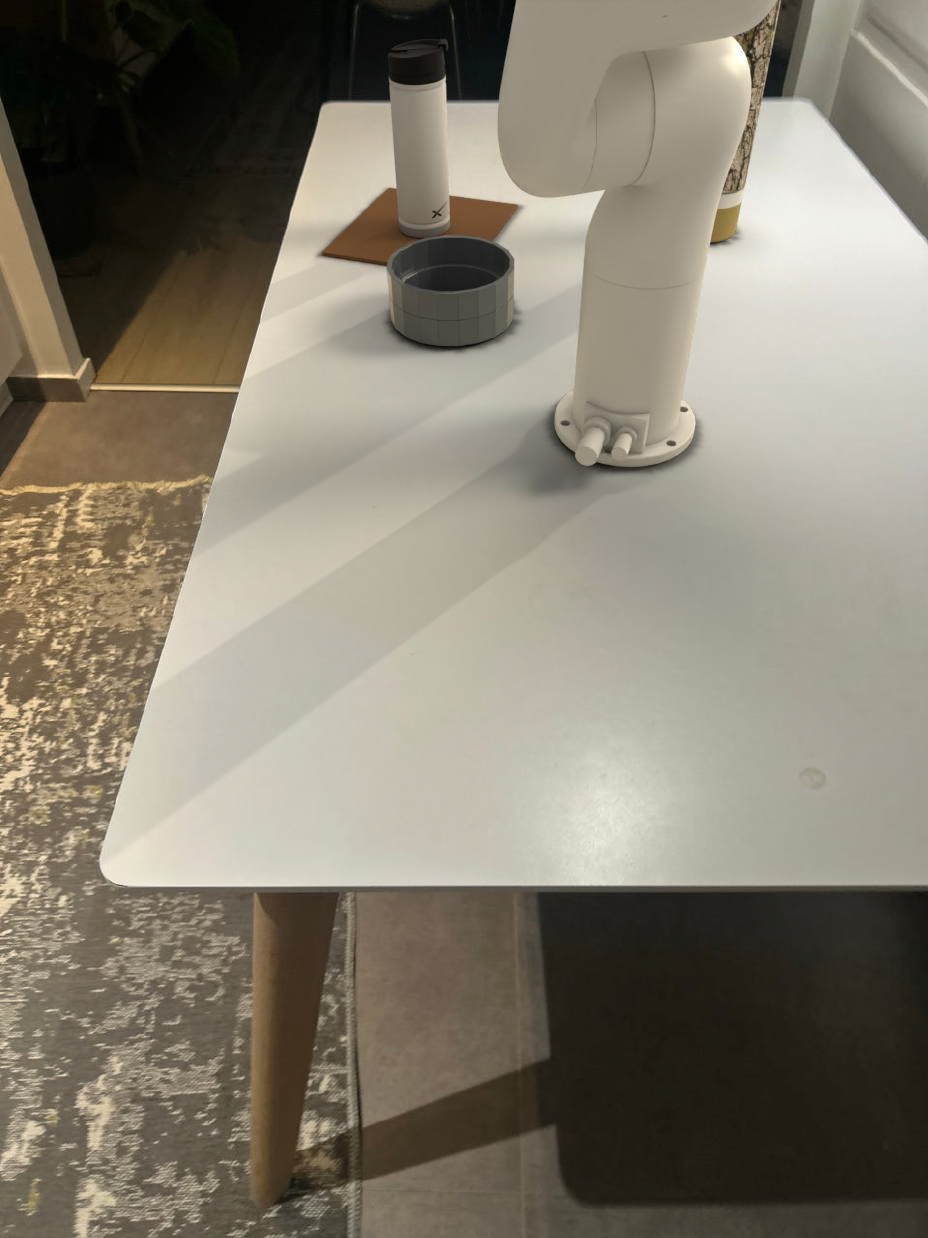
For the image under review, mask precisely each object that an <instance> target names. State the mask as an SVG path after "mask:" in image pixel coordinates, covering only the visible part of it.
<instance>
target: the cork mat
mask: <svg viewBox="0 0 928 1238" xmlns="http://www.w3.org/2000/svg"><path fill="white" fill-rule="evenodd" d="M449 207H450V212H449V214H450V228H449V229H448V231H446V232H445V233H444V234H442V235H440V236H450V235H463V236H471V237H478V238H483V239H486V240H489V241H492V242H493V241H494V239H495V238H496V236H497V235H499V233H500V231H502V229H503V227H504V226H505V225H506V224H507V222H509V220H510V219H511V217H512V216H513V215H514V213H516V211H517V210H518V208H519V204H518V203H516V204H515V203H510V202H509V203H508V202H503V201H502V202H500V201H493V200H486V199H478V198H470V197H463V196H456V195H449ZM398 216H399V215H398V203H397V188H395V187H388V188H386V190H385V191H384V192H383V193H382V194H381V195H380V196H379V197H377V198H376V199H375V200H374V201H373V202H372V203H371V204H370V205H369V206H368V207H367V208H366V209H365V210H364V211H362V213H361V214H360V215H359V216H358V217H357V218H356V219H355V220H353V222H351V223H350V224H349V225H348V226H347V227H346V228H345V229H344V230H343V231H342V232H341V233H340V234H339V235H338V236H337V237H336V238H335V239H333V241H332V242H330V243H329V244H328V245H327V246H326V247H325V248H324V249H323V250H322V251H321V255H322V256H323V257H324V256H325V257H331V258H337V259H343V260H351V261H357V262H358V261H359V262H365V263H369V264H370V263H371V264H376V265H383V266H387V264H388V259H389V258H390V257H391V256H392V255H393V253H394V252H395V251H396V250H398V249H400V248H401V247H403V246H405V245H407V244H409V243H411V242H415V241H418V240H421V239H424V238H414V237H410V236H407V235H405V234H404V233H402V232H401V231H400V229H399V217H398Z"/></svg>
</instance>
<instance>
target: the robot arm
mask: <svg viewBox="0 0 928 1238" xmlns="http://www.w3.org/2000/svg"><path fill="white" fill-rule="evenodd" d="M776 1H777V0H515V5H514V10H513V11H514V12H513V16H512V22H511V26H510V33H509V36H508V37H509V38H508V44H507V50H506V55H505V60H504V65H503V72H502V76H501V81H500V82H501V83H500V88H499V95H498V97H499V98H498V105H497V141H498V149H499V154H500V158H501V161H502V165H503V167H504V170H505V171H506V173H507V175H508V177H509V179H510V180H511V182H512V183H513V184H514V185H515V186H516V187H517V188H518V189H519V190H521V191H522V192H524V193H526V194H527V195H530V196H533V197H536V198H544V199H551V198H552V199H554V198H563V197H571V196H578V195H583V194H589V193H594V192H601V191H603V193H602V195H601V197H600V198H599V200H598V202H597V205H596V206H595V208H594V211H593V213H592V215H591V219H590V222H589V224H588V228H587V233H586V237H585V243H584V244H585V245H584V254H583V255H584V256H583V264H582V265H583V267H582V279H581V280H582V281H581V291H580V306H579V316H578V330H577V344H576V356H575V368H574V382H573V383H574V384H573V389H572V390H571V391H569V392H568V393H566V394H565V395H564V396H563V397H562V398H561V399H560V400H559V401H558V403H557V405H556V407H555V411H554V430H555V432H556V435H557V436H558V438H559V439H560V441H561V442H562V444H564V445H565V446H566V447H567V448H568V449H569V450H571V451H572V452H574V457H575V459H576V461H577V462H578V463H579V464H580V465H581V466H586V467H589V466H590V467H591V466H593V465H594V464H596V463H599V464H602V465H608V466H612V467H622V468H623V467H624V468H638V467H640V468H641V467H646V466H647V467H648V466H652V465H653V466H654V465H657V464H661V463H664V462H667V461H670V460H671V459H673V458H675V457H677V456H679V455H680V454H681V453H683V452H684V451H685V450H686V449H687V448H688V447H689V445H690V444H691V442H692V441H693V437H694V435H695V429H696V416H695V414H694V411H693V410H692V408H691V406H690V405H689V404H688V403H687V402H686V400H684V399H683V395H684V391H685V390H684V389H685V384H686V379H687V373H688V367H689V362H690V355H691V349H692V343H693V339H694V333H695V328H696V321H697V316H698V309H699V304H700V299H701V292H702V288H703V282H704V276H705V270H706V268H707V262H708V257H709V251H710V246H711V242H710V241H711V236H712V231H713V226H714V221H715V217H716V212H717V208H718V204H719V200H720V197H721V194H722V190H723V187H724V184H725V181H726V178H727V175H728V172H729V169H730V167H731V164H732V161H733V159H734V156H735V154H736V151H737V148H738V146H739V143H740V140H741V137H742V134H743V131H744V128H745V125H746V121H747V117H748V113H749V108H750V101H751V74H750V68H749V64H748V61H747V57H746V55H745V53H744V51H743V49H742V47H741V46H740V45H739V43H738V42H737V41H736V40H735V39H734V38H733V37H732V36H735V35H738V34H741V33H743V32H746V31H748V30H750V29H752V28H753V27H755V26H756V25H758V24H759V23H760V22H761V21H762V20H763V19H764V18H765V17H766V16H767V14H768V13H769V12H770V11H771V9H772V8H773V6H774V5H775V3H776Z"/></svg>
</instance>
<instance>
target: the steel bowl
mask: <svg viewBox="0 0 928 1238" xmlns="http://www.w3.org/2000/svg"><path fill="white" fill-rule="evenodd" d="M386 277H387V290H388V301H389V311H390V312H389V313H390V320H391V322H392V325H393V326H394V330H396V331H397V332H399V333H400V334H401V335H403V336H404V337H406V338H408V339H410V340H412V341H415V342H418V343H419V344H420V343H421V344H425V345H431V346H436V347H462V346H467V345H468V346H469V345H475V344H479V343H481V342H485V341H487V340H491V339H493V338H497V336H499V335H500V334H502V333H503V332H505V331H506V330H507V329H508V328H509V326H510V325H511V323H512V322H513V320H514V303H515V302H514V301H515V299H514V298H515V257H514V256H513V255H512V253H511V252H510V250H509V249H507V248H505V247H504V246H503V245H501V244H499V243H498V242H495V241H493V240H492V241H489V240H486V239H483V238H478V237H471V236H463V235H450V236H437V237H430V238H424V239H421V240H418V241H415V242H411V243H409V244H407V245H405V246H403V247H401V248H400V249H398V250H396V251H395V252H394V253H393V255H392V256H391V257H390V258H389V259H388V264H387V265H386Z"/></svg>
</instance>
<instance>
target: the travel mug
mask: <svg viewBox="0 0 928 1238" xmlns="http://www.w3.org/2000/svg"><path fill="white" fill-rule="evenodd" d="M448 50H449V44H448V40H447V39H446V38H439V39H435V38H423V39H416V40H410V41H407V42H404V43H401V44H398V45H395V46H393V47H392V48H391V49H390V51H389V53H388V54H387V63H388V69H389V70H388V83H389V100H390V114H391V127H392V129H391V130H392V140H393V141H392V142H393V143H392V144H393V156H394V157H393V159H394V171H395V172H394V173H395V186H396V188H395V189H397V203H398V215H399V216H398V217H399V229H400V231H401V232H402V233H404V234H405V235H407V236H410V237H414V238H430V237H437V236H440V235H442V234H444V233H445V232H446V231H448V229H449V228H450V214H449V212H450V207H449V196H450V178H449V177H450V175H449V173H450V172H449V141H448V139H449V138H448V107H447V104H448V103H447V83H446V81H447V76H446V75H447V74H446V68H445V67H446V61H445V55H444V52H448Z"/></svg>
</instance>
